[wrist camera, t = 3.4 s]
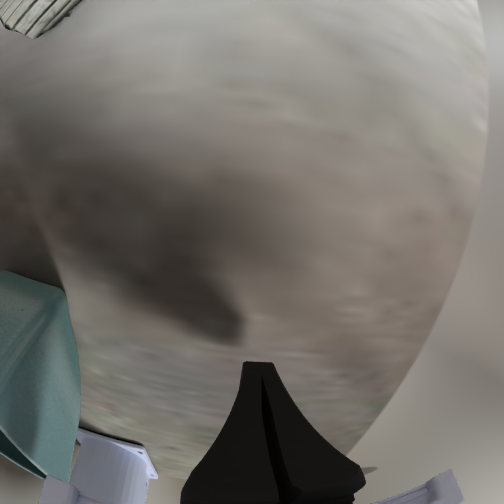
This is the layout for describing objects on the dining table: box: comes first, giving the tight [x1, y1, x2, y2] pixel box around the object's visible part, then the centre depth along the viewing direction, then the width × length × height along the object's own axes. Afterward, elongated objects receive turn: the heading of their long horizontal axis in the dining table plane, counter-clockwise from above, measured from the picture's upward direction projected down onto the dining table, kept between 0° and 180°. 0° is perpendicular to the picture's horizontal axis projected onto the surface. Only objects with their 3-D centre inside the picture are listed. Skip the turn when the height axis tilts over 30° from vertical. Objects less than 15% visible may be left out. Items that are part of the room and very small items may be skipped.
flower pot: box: [0, 270, 81, 483], centre depth 9 cm, size 9×9×9 cm
